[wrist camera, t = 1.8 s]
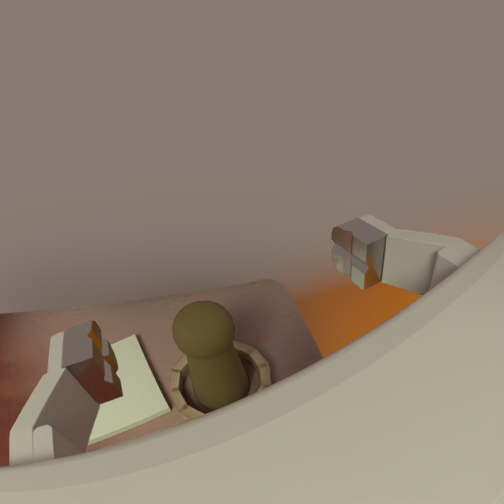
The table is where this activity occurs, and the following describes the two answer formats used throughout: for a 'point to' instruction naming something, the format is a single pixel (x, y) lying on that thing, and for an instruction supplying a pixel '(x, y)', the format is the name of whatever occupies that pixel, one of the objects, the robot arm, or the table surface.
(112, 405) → the ceramic tile
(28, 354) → the table surface
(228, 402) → the cork
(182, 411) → the ring
